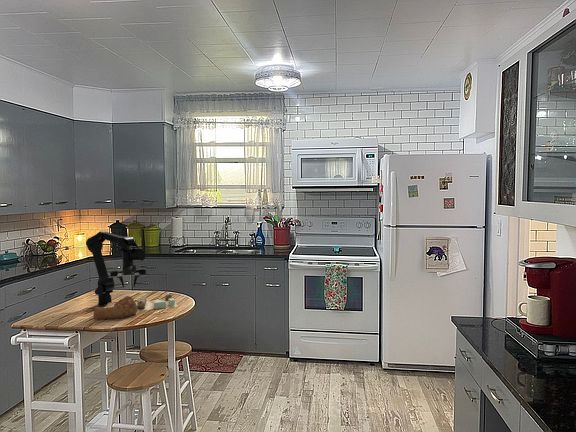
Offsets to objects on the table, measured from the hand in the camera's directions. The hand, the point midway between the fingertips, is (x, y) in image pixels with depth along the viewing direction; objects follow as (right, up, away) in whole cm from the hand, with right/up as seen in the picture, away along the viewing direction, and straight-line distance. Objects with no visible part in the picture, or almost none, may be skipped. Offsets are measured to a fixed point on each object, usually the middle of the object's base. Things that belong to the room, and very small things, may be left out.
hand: (129, 287), depth 263 cm
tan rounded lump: (+2, -13, -23) cm, 26 cm away
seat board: (+14, -11, +1) cm, 17 cm away
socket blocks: (+21, -10, -4) cm, 23 cm away
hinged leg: (+8, -10, -2) cm, 13 cm away
